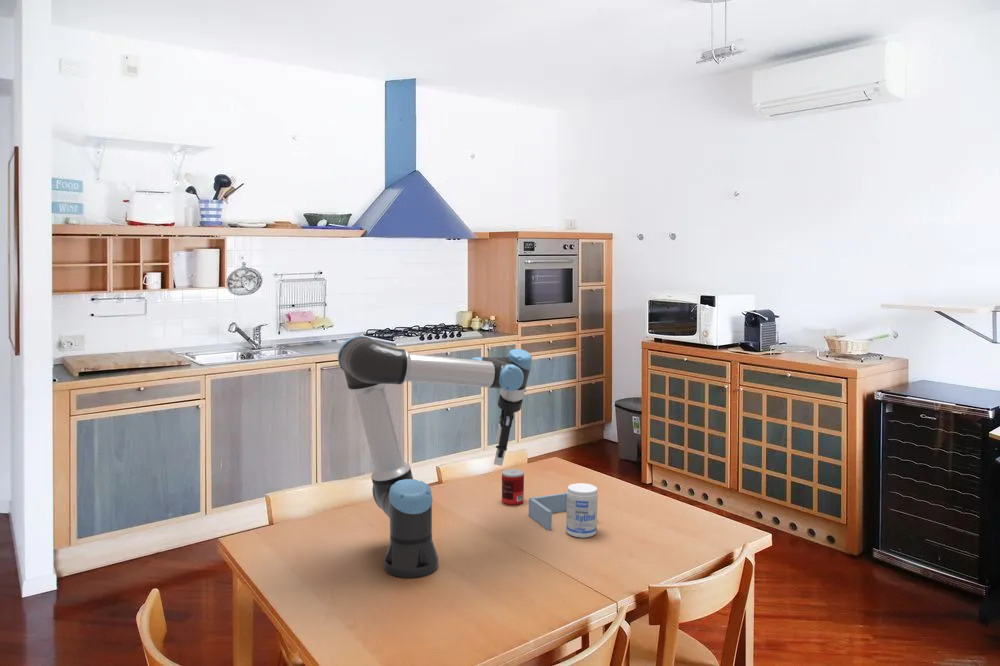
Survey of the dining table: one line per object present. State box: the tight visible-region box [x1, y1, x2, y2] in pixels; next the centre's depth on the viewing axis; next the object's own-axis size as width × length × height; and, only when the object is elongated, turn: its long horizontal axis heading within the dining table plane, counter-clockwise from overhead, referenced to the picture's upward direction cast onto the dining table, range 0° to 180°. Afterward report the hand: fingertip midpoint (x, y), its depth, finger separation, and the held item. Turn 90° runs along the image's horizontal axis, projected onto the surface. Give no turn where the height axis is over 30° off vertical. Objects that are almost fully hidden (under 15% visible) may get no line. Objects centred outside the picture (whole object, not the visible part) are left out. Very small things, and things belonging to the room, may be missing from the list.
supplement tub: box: [565, 482, 599, 539], centre depth 234 cm, size 10×10×15 cm
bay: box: [528, 492, 567, 531], centre depth 246 cm, size 14×17×6 cm
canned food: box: [501, 468, 525, 506], centre depth 262 cm, size 8×8×11 cm
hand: (498, 453), depth 244 cm, fingers open, 13 cm apart
